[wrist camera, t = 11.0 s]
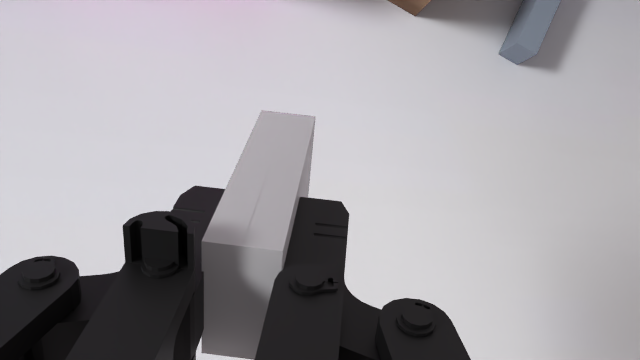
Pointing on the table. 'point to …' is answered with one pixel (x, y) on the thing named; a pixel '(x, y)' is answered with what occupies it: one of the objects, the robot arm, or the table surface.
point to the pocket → (528, 29)
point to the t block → (411, 5)
